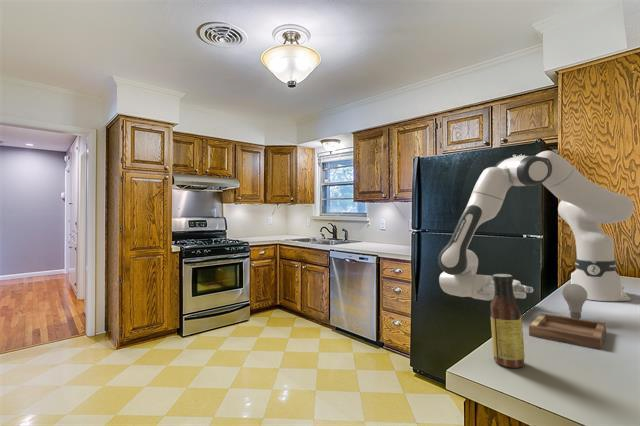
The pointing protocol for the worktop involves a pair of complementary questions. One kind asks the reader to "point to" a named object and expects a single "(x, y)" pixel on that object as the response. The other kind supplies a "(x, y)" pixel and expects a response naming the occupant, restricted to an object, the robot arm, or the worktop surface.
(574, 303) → the lightbulb
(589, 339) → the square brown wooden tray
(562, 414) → the worktop surface
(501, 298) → the sauce bottle
